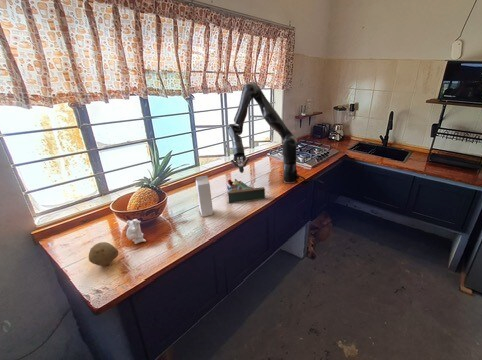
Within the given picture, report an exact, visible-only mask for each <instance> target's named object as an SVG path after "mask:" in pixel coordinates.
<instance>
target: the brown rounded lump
mask: <svg viewBox="0 0 482 360" xmlns="http://www.w3.org/2000/svg"><path fill="white" fill-rule="evenodd" d="M118 256H119V250H118V249H117V248H116V247H115V246H114V245H112V244H111V243H110V242H107V241H101V242H98V243H95V244H94V245H93V246H92V247H91V248H90V250H89V252H88V261H89V262H90V263H91V264H93V265H96V266H99V267H107V266H109V265H110V264H111V263H112V262H113V261H114V260H116V258H118Z"/></svg>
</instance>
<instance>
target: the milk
mask: <svg viewBox="0 0 482 360" xmlns="http://www.w3.org/2000/svg"><path fill="white" fill-rule="evenodd" d="M195 187H196V193H197V200H198V207H199V213H200V215H201V217H202V218H203V217H207V216H212V215H214V208H213V201H212V191H211V185H210V181H209V177H208V175H203V176H197V177H195Z"/></svg>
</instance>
